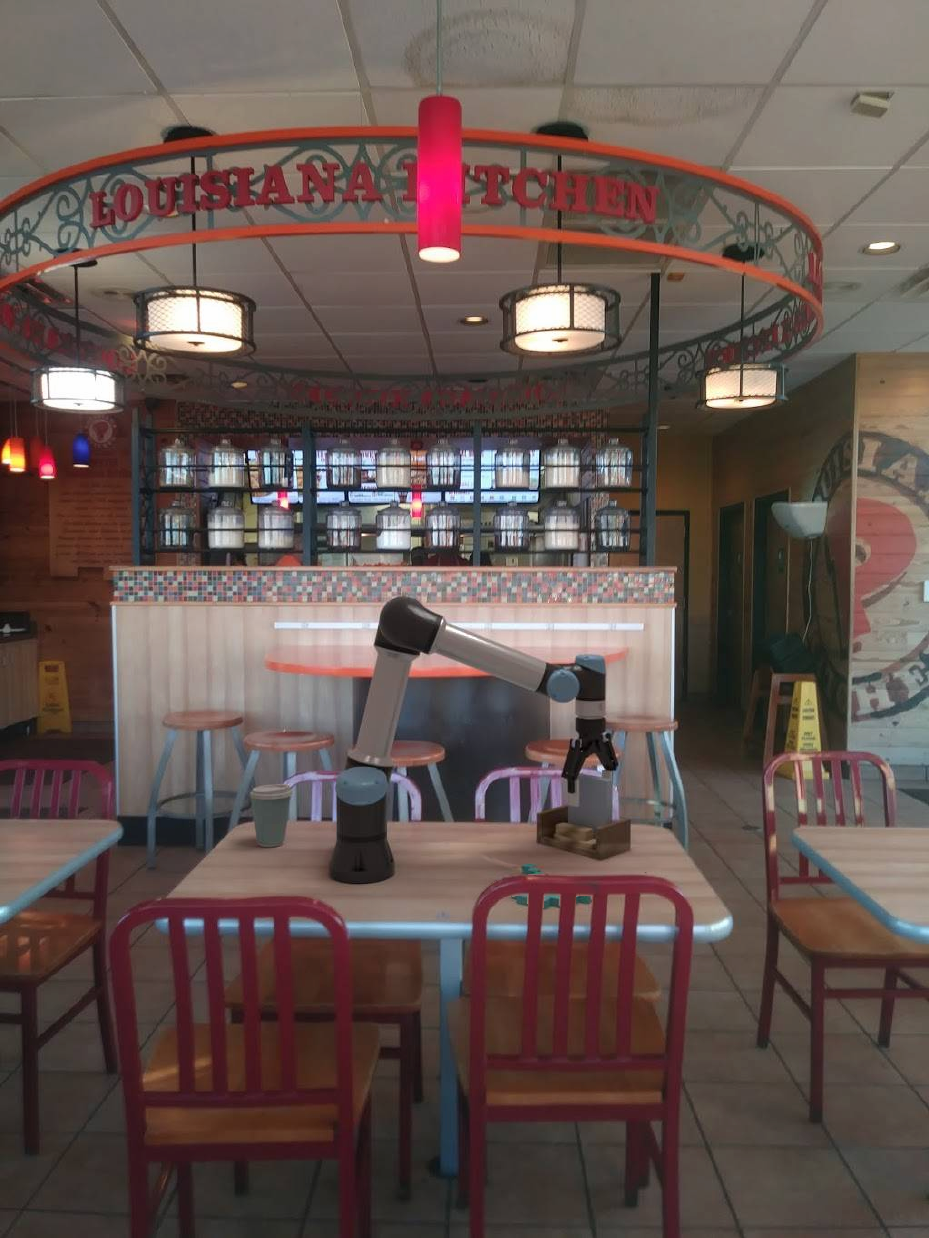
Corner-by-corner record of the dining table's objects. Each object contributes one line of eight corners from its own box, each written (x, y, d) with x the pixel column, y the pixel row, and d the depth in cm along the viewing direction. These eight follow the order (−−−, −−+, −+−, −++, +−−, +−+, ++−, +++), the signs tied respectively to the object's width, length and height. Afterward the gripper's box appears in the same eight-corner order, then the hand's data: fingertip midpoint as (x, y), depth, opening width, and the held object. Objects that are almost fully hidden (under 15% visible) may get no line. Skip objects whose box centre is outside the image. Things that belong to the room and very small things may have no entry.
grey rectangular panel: (567, 839, 224) (568, 773, 223) (574, 837, 225) (574, 772, 225) (606, 849, 215) (606, 781, 214) (612, 847, 217) (612, 779, 216)
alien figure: (526, 872, 205) (488, 900, 187) (526, 862, 204) (488, 889, 187) (608, 886, 195) (576, 917, 178) (608, 876, 195) (577, 906, 177)
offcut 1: (555, 834, 219) (555, 824, 219) (562, 832, 222) (563, 822, 221) (586, 841, 213) (586, 831, 213) (593, 838, 216) (593, 828, 216)
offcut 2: (553, 844, 220) (553, 834, 220) (563, 840, 223) (563, 831, 222) (591, 854, 211) (592, 844, 211) (602, 851, 214) (602, 841, 214)
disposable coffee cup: (242, 848, 221) (241, 789, 220) (262, 836, 232) (261, 780, 231) (281, 851, 219) (280, 791, 218) (299, 839, 229) (298, 782, 228)
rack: (536, 848, 221) (536, 812, 221) (566, 838, 230) (566, 804, 229) (600, 866, 207) (601, 829, 207) (630, 855, 215) (630, 819, 215)
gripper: (570, 724, 207) (571, 813, 208) (632, 712, 225) (632, 794, 226) (546, 720, 213) (546, 807, 214) (608, 709, 230) (608, 789, 231)
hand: (590, 800), depth 220 cm, fingers open, 13 cm apart
